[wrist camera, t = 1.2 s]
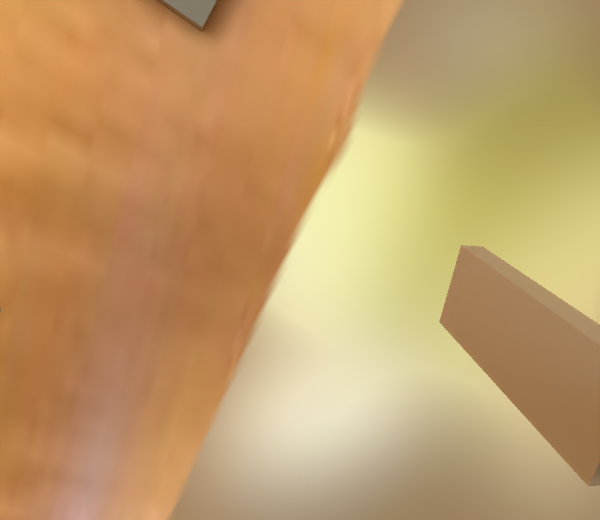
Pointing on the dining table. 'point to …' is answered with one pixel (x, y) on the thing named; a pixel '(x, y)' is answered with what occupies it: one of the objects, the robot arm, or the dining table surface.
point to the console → (192, 10)
